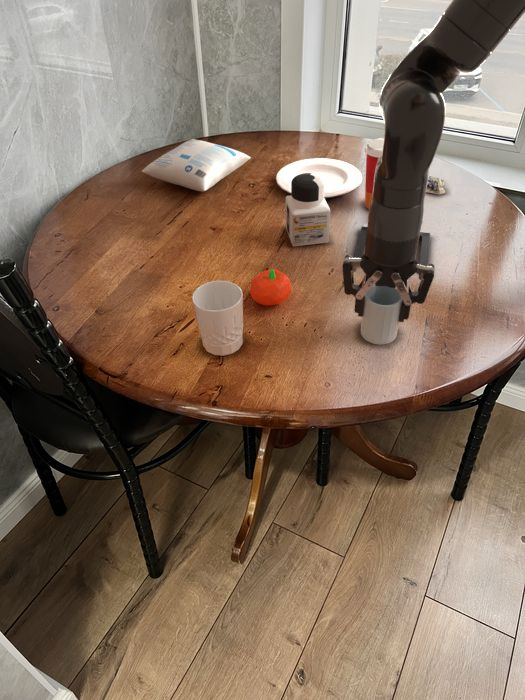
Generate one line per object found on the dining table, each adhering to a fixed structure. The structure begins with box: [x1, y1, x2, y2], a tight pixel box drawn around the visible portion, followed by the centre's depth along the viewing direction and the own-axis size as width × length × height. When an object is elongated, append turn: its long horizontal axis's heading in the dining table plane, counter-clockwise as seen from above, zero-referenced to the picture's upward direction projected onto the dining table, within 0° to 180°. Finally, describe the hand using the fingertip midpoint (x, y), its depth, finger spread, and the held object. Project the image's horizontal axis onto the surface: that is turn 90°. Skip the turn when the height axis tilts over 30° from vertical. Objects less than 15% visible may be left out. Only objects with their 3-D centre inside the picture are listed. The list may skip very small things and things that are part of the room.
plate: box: [275, 157, 363, 199], centre depth 131 cm, size 21×21×2 cm
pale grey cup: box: [360, 285, 403, 346], centre depth 88 cm, size 6×6×8 cm
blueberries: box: [426, 175, 446, 196], centre depth 127 cm, size 7×8×2 cm
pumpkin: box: [249, 268, 292, 306], centre depth 97 cm, size 7×8×6 cm
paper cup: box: [364, 137, 384, 210], centre depth 118 cm, size 8×8×14 cm
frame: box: [353, 225, 431, 266], centre depth 109 cm, size 14×12×1 cm
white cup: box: [191, 280, 244, 357], centre depth 88 cm, size 8×8×10 cm
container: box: [285, 173, 331, 248], centre depth 110 cm, size 8×8×13 cm
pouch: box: [141, 138, 252, 193], centre depth 133 cm, size 8×19×20 cm
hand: (381, 316), depth 89 cm, fingers closed on pale grey cup, 6 cm apart
